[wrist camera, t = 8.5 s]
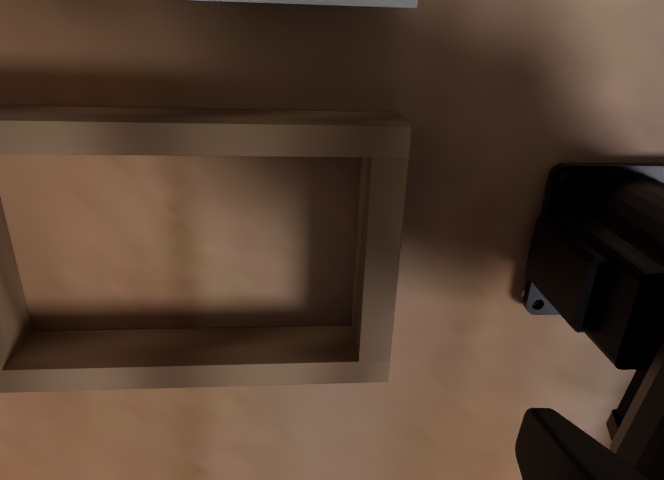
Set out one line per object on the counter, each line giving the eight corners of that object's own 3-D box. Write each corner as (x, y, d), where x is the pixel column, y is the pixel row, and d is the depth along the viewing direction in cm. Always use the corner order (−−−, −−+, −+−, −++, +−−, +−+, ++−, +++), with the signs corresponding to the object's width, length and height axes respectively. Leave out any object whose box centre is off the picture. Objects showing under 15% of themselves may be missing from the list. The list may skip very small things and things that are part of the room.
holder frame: (396, 112, 19) (411, 126, 16) (377, 344, 23) (388, 381, 20) (-61, 104, 17) (-113, 118, 15) (6, 352, 21) (-27, 393, 19)
